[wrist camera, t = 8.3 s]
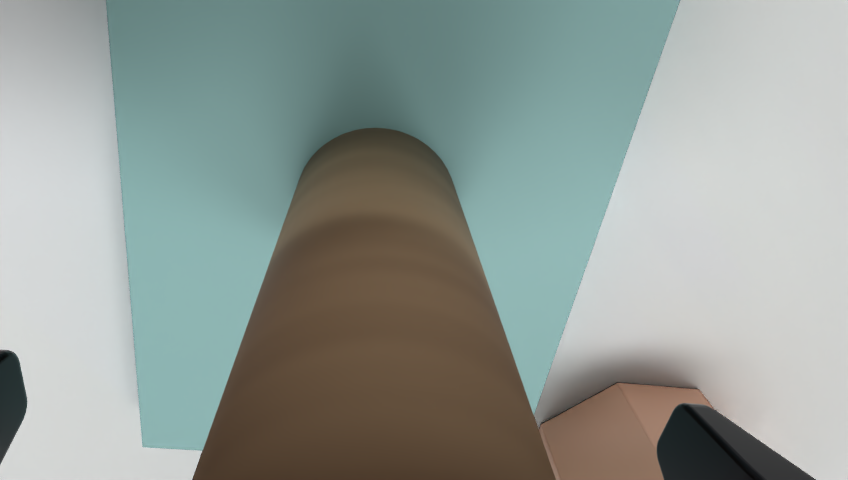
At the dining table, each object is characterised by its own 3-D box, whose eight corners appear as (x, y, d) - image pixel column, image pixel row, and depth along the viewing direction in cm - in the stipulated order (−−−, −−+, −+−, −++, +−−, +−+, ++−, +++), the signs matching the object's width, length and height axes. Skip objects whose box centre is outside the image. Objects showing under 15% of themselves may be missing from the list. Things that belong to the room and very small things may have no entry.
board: (505, 433, 20) (514, 468, 18) (159, 411, 18) (142, 447, 17) (701, -160, 12) (742, -176, 10) (116, -306, 10) (77, -347, 9)
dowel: (439, 281, 15) (535, 764, 6) (290, 265, 14) (146, 774, 5) (470, 141, 13) (671, 526, 4) (301, 115, 12) (113, 501, 4)
